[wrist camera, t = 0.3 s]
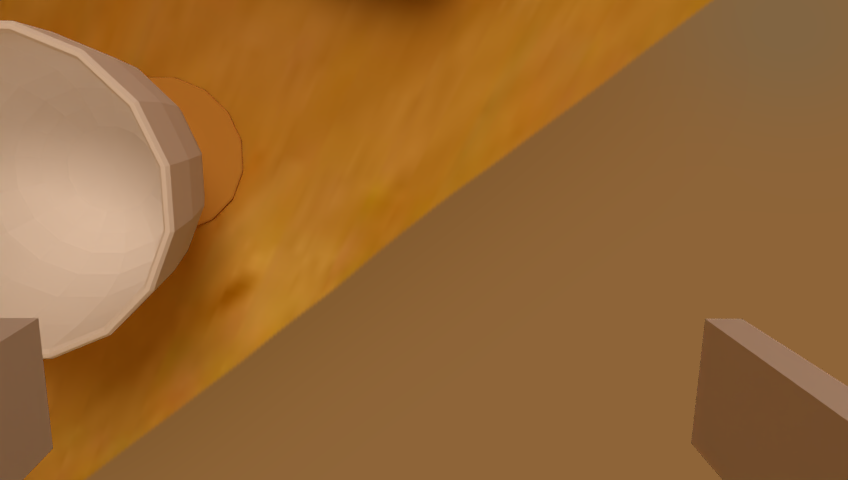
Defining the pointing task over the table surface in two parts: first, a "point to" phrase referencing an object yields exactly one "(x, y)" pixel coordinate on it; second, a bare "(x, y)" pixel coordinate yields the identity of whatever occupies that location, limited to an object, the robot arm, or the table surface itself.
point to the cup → (99, 183)
